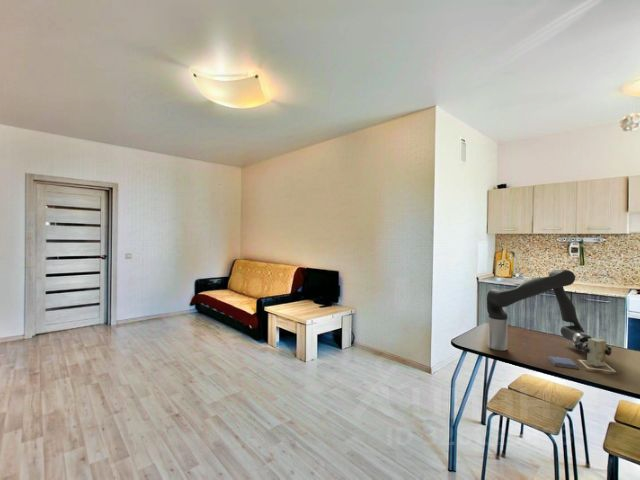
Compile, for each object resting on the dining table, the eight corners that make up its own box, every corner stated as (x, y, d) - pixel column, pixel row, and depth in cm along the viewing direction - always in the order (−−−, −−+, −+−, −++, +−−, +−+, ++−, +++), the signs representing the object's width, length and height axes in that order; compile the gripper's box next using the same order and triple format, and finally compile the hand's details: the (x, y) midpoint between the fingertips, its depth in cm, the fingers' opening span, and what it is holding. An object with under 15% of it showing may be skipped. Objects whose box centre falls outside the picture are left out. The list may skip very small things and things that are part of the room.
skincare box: (596, 367, 148) (597, 341, 148) (586, 363, 152) (587, 338, 152) (606, 365, 150) (606, 340, 149) (595, 361, 154) (596, 337, 154)
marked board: (586, 370, 148) (586, 368, 148) (576, 361, 159) (576, 358, 159) (618, 375, 143) (618, 372, 143) (605, 365, 154) (606, 362, 154)
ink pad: (553, 365, 153) (553, 362, 153) (547, 358, 162) (547, 355, 162) (578, 369, 149) (578, 366, 149) (570, 361, 159) (571, 358, 159)
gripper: (567, 332, 167) (580, 342, 151) (601, 335, 161) (618, 346, 146) (567, 346, 167) (580, 357, 152) (601, 350, 162) (617, 362, 146)
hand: (598, 352), depth 149 cm, fingers closed on skincare box, 7 cm apart
